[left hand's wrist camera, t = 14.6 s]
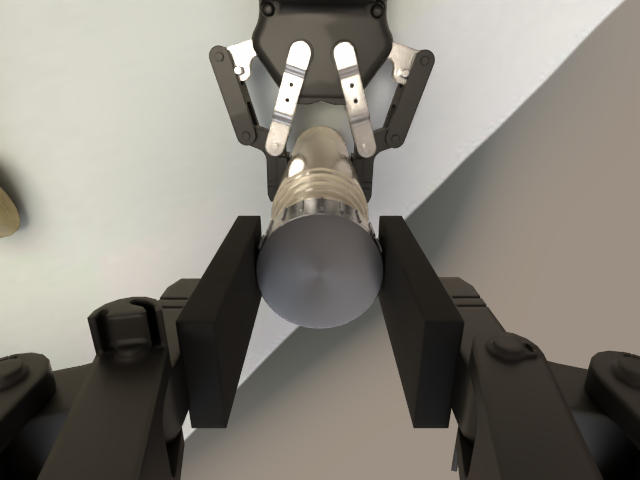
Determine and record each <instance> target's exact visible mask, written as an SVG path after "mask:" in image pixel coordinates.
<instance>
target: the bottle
mask: <svg viewBox="0 0 640 480" xmlns="http://www.w3.org/2000/svg"><path fill="white" fill-rule="evenodd" d="M320 197H323V199H331V200H336V201H340V200H341V201H342V203H344V204H347V205H349V206H351V207H352V208H354V209H355V210H356V209H358V210H359V213H360V214H361V215H362V216H363V217H364V218H365V219H366V220H367V221H368V206H367V201H366V198H365V195H364V193H363V190H362V188H361V185H360V182H359V180H358V177H357V174H356V172H355V169H354V167H353V164H352V161H351V159H350V156H349V153H348V151H347V148H346V145H345V143H344V141H343V139H342V137H341V136H340V135H339V134H338V133H337V132H336V131H334V130H333V129H331V128H328V127H324V126H316V127H312V128H309V129H307V130H306V131H304V132H303V133H302V134H301V135H300V136H299V137H298V139H297V141H296V143H295V145H294V148H293V151H292V153H291V156H290V158H289V161H288V164H287V166H286V169H285V172H284V174H283V177H282V179H281V182H280V185H279V187H278V190H277V192H276V195H275V198H274V201H273V205H272V216H271V220H274V219H275V218H276V216H277V215H278V214H280V213H281V212H282V211H283V209H284V208H285V207H286V208H288V207H289V206H291V205H293V204H295V203H298V202H301V200H302V199H304V200H309V199H318V198H320Z"/></svg>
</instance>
